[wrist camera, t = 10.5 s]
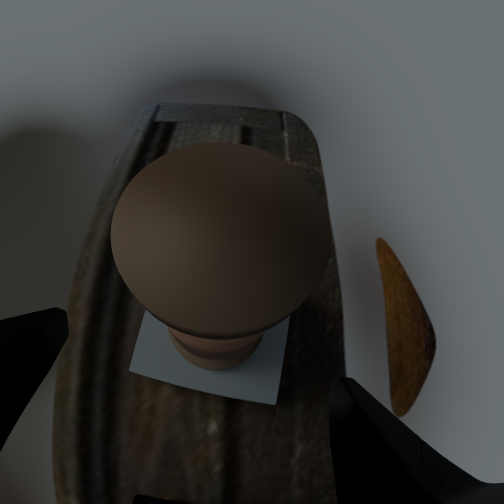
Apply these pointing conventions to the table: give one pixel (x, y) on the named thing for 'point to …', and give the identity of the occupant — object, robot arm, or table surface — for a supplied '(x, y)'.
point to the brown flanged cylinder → (220, 246)
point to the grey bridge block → (212, 381)
